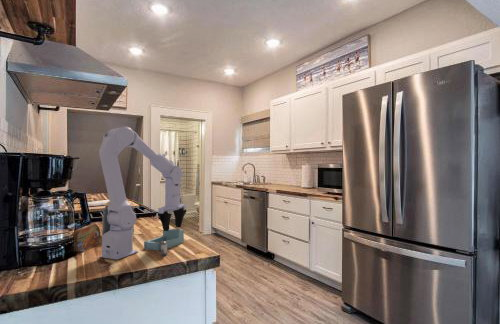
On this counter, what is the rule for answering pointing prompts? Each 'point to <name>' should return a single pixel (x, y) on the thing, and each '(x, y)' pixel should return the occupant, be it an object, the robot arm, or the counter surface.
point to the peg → (163, 248)
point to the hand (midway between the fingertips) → (172, 228)
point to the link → (166, 239)
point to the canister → (105, 223)
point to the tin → (86, 237)
